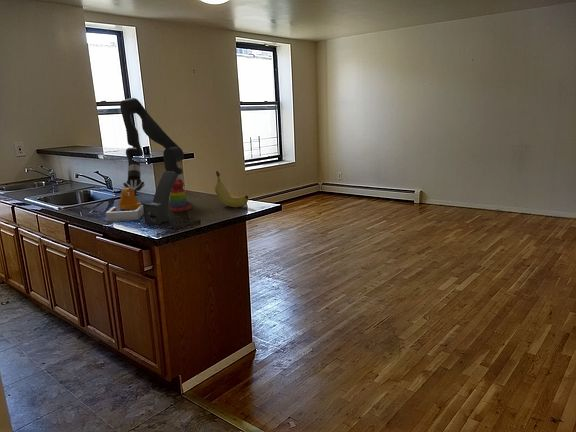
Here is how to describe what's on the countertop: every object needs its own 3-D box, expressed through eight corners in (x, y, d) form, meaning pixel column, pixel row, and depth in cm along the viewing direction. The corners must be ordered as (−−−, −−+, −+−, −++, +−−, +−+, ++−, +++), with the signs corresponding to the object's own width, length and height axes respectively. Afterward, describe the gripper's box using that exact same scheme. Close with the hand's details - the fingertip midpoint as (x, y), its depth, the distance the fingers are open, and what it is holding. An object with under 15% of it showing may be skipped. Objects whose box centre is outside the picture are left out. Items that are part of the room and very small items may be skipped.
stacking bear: (192, 208, 251) (190, 177, 247) (183, 212, 242) (180, 180, 238) (176, 207, 255) (173, 177, 250) (166, 211, 245) (163, 180, 241)
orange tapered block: (125, 211, 250) (122, 190, 247) (119, 209, 255) (116, 189, 252) (142, 207, 257) (140, 187, 254) (137, 206, 262) (134, 186, 259)
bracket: (144, 213, 243) (143, 205, 242) (138, 219, 229) (137, 211, 228) (114, 214, 242) (113, 206, 240) (106, 221, 228) (105, 213, 227)
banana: (251, 207, 249) (249, 172, 244) (245, 209, 244) (243, 173, 239) (220, 203, 260) (218, 170, 255) (214, 205, 255) (211, 171, 251)
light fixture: (184, 217, 231) (180, 171, 225) (158, 225, 217) (153, 176, 211) (170, 215, 236) (165, 170, 231) (144, 222, 222) (138, 175, 217)
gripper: (122, 170, 274) (121, 193, 266) (144, 169, 277) (144, 191, 268) (124, 177, 281) (123, 200, 272) (145, 176, 283) (146, 198, 274)
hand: (133, 195), depth 270 cm, fingers closed
